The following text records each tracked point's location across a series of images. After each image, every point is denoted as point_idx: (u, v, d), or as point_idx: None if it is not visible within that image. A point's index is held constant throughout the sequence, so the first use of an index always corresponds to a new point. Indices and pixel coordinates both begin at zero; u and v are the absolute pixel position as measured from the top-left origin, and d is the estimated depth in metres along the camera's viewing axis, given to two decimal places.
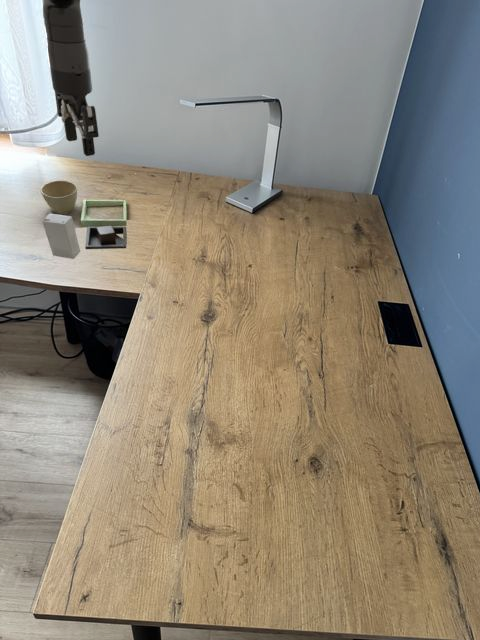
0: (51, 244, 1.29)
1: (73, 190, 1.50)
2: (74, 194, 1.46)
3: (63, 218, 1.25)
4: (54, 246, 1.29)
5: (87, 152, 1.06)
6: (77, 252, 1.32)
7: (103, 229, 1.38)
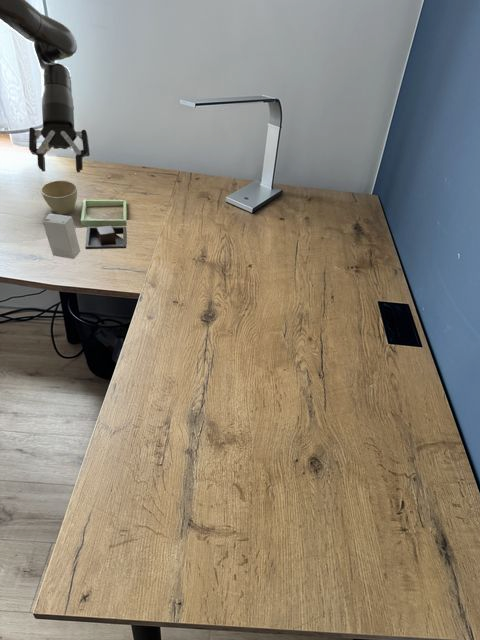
0: (51, 244, 1.29)
1: (73, 190, 1.50)
2: (74, 194, 1.46)
3: (63, 218, 1.25)
4: (54, 246, 1.29)
5: (80, 167, 1.29)
6: (77, 252, 1.32)
7: (103, 229, 1.38)
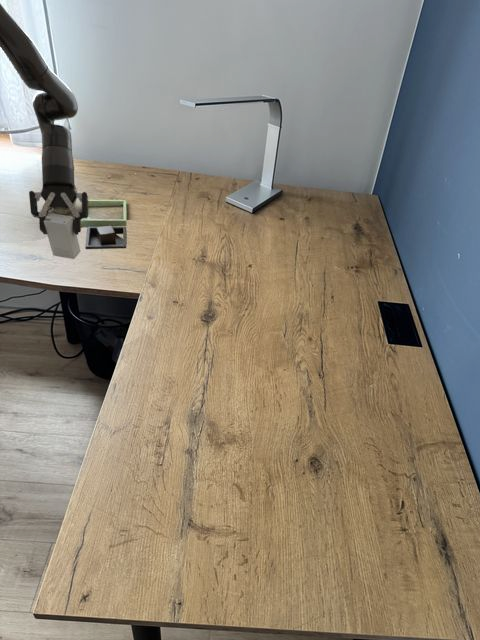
0: (51, 244, 1.29)
1: None
2: None
3: (64, 218, 1.25)
4: (54, 245, 1.29)
5: (78, 229, 1.27)
6: (77, 252, 1.32)
7: (103, 229, 1.38)
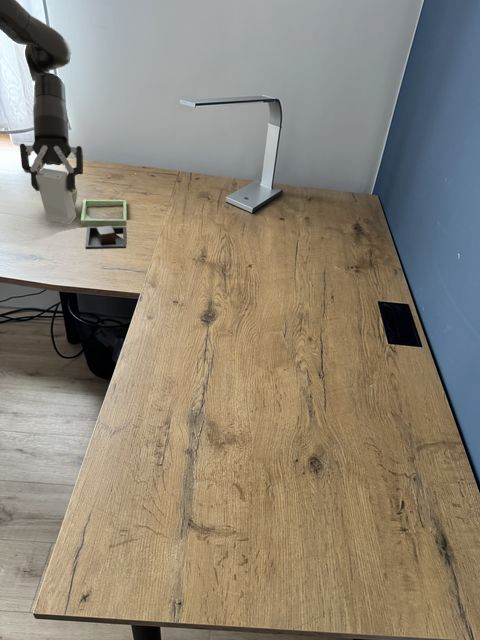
0: (44, 202, 1.21)
1: (73, 190, 1.50)
2: (74, 194, 1.46)
3: (57, 173, 1.17)
4: (47, 203, 1.21)
5: (73, 186, 1.19)
6: (72, 212, 1.25)
7: (103, 229, 1.38)
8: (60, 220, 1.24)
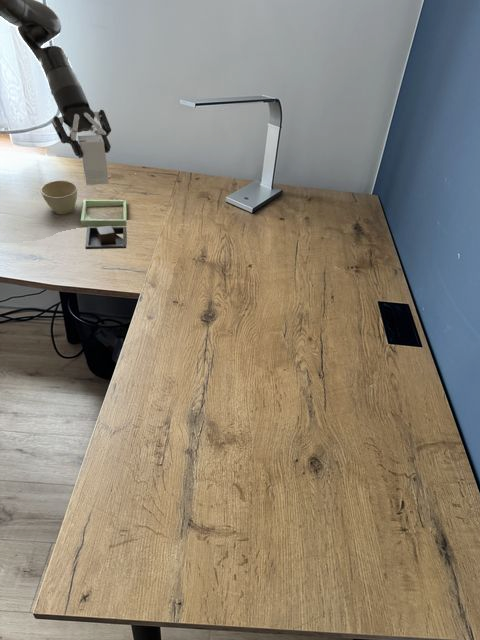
0: (86, 167, 1.32)
1: (73, 190, 1.50)
2: (74, 194, 1.46)
3: (96, 137, 1.30)
4: (89, 168, 1.32)
5: (109, 146, 1.33)
6: None
7: (103, 229, 1.38)
8: (100, 182, 1.36)
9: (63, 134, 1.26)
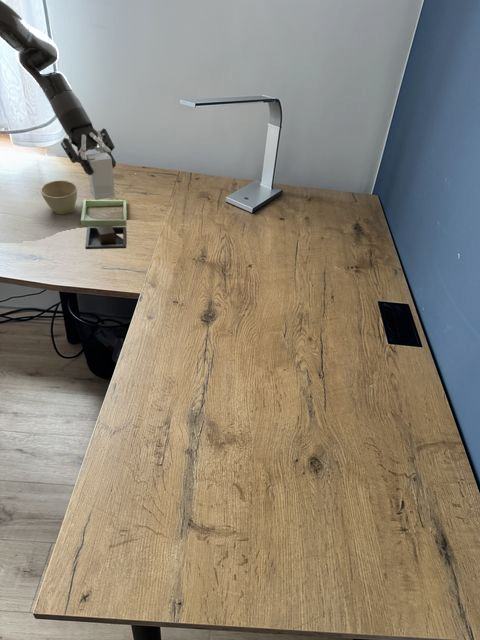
0: (95, 183, 1.41)
1: (73, 190, 1.50)
2: (74, 194, 1.46)
3: (103, 155, 1.39)
4: (98, 184, 1.41)
5: (114, 162, 1.42)
6: None
7: (103, 229, 1.38)
8: (107, 196, 1.45)
9: (74, 154, 1.34)
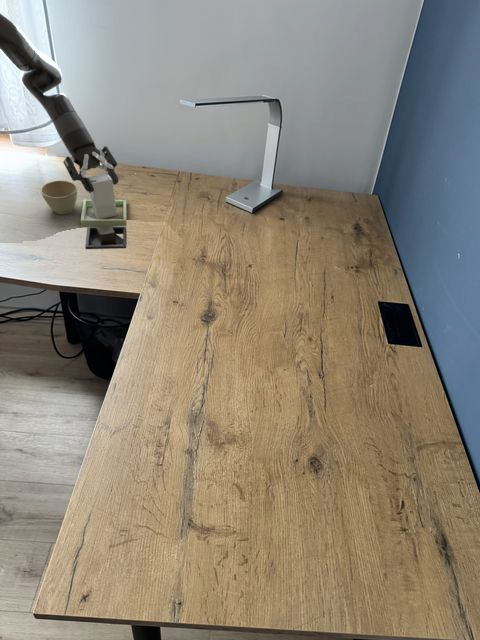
0: (97, 204, 1.45)
1: (73, 190, 1.50)
2: (74, 194, 1.46)
3: (104, 176, 1.43)
4: (100, 204, 1.46)
5: (117, 178, 1.46)
6: None
7: (103, 229, 1.38)
8: (109, 215, 1.50)
9: (75, 172, 1.37)
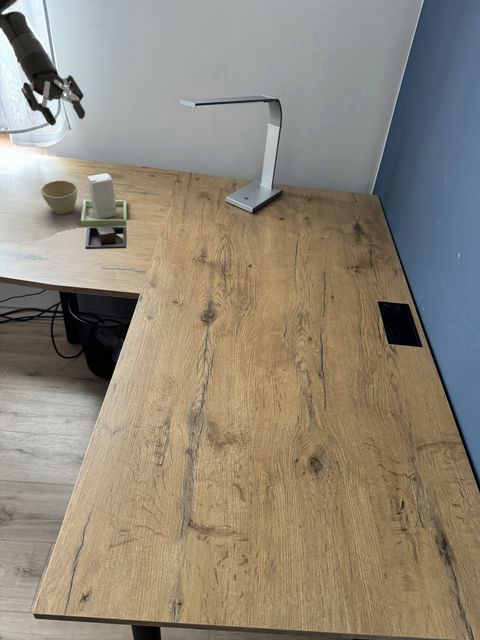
0: (97, 204, 1.45)
1: (73, 190, 1.50)
2: (74, 194, 1.46)
3: (104, 176, 1.43)
4: (100, 204, 1.46)
5: (84, 112, 1.31)
6: None
7: (103, 229, 1.38)
8: (109, 215, 1.50)
9: (33, 101, 1.23)
